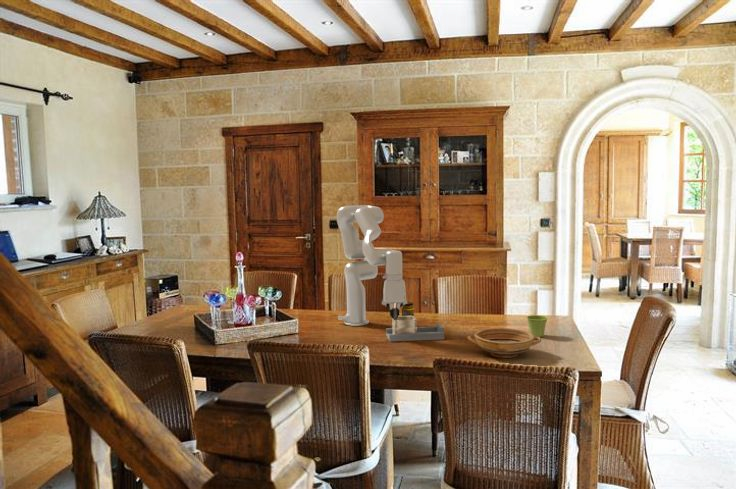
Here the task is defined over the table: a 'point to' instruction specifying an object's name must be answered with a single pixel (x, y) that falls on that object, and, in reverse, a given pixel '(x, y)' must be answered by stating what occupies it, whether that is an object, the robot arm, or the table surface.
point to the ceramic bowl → (504, 341)
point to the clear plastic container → (403, 324)
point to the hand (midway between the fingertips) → (394, 317)
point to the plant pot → (537, 325)
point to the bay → (418, 334)
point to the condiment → (408, 309)
